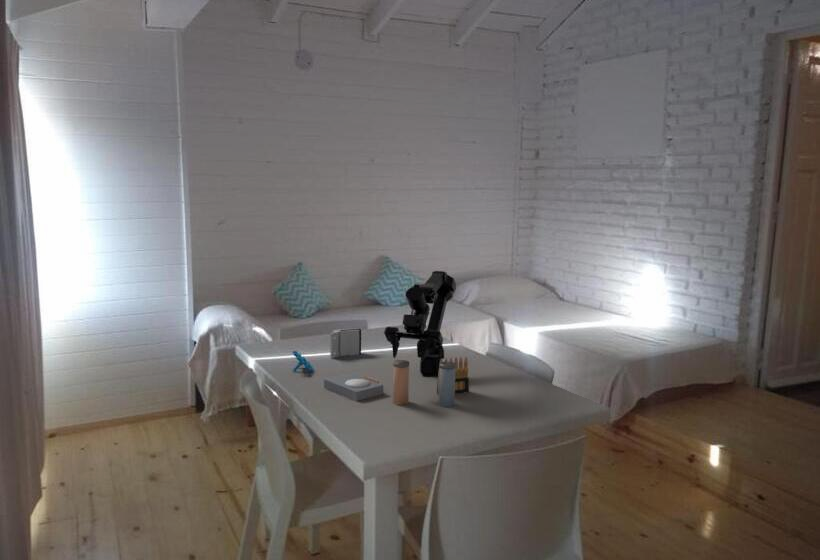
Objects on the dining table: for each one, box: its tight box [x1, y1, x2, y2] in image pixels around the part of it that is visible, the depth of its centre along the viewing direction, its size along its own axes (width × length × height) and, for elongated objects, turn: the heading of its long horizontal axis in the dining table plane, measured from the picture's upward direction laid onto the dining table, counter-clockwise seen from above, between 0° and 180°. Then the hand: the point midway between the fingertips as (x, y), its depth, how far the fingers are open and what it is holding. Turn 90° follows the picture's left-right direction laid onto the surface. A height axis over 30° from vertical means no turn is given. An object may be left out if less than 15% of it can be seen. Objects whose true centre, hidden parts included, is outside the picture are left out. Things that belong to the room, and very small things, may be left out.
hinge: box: [329, 327, 362, 359], centre depth 263 cm, size 14×5×10 cm, turn 123°
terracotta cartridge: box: [392, 359, 410, 406], centre depth 208 cm, size 5×5×13 cm
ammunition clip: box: [436, 356, 470, 396], centre depth 218 cm, size 11×2×12 cm, turn 110°
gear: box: [292, 350, 314, 372], centre depth 241 cm, size 11×6×10 cm
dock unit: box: [323, 372, 384, 402], centre depth 219 cm, size 12×18×4 cm, turn 42°
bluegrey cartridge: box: [438, 361, 456, 408], centre depth 206 cm, size 5×5×13 cm
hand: (407, 358), depth 213 cm, fingers open, 9 cm apart
